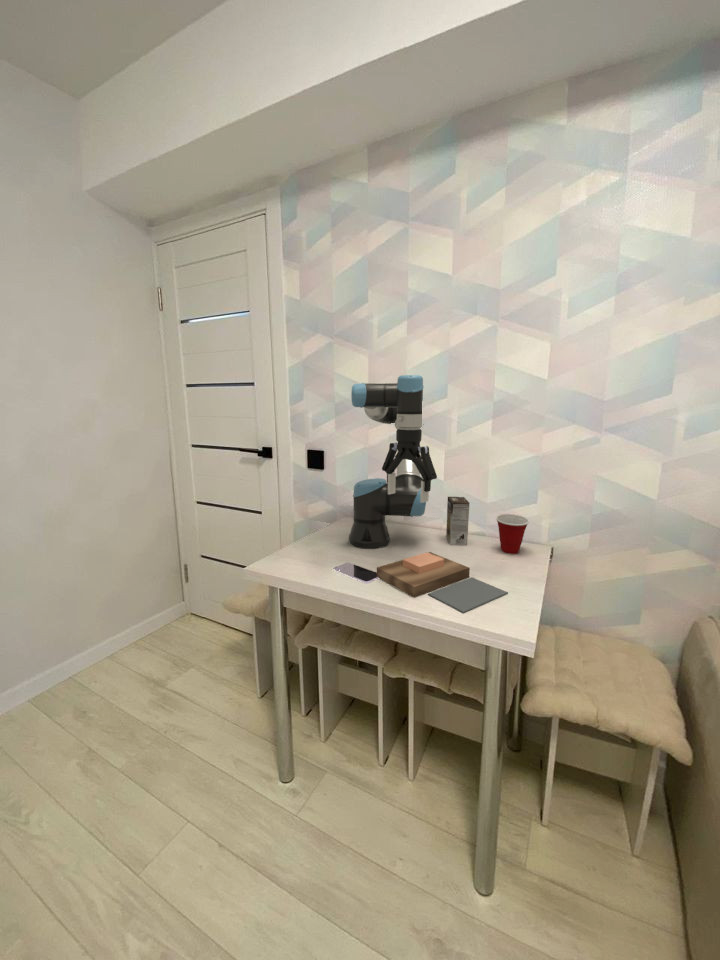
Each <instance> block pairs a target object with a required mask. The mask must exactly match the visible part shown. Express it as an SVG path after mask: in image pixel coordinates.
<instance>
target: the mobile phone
mask: <svg viewBox="0 0 720 960" xmlns="http://www.w3.org/2000/svg"><path fill="white" fill-rule="evenodd" d="M332 568H333V569H335V570H336V571H339V572H341V573H343V574H346V575H348V576H350V577H352V578H355V579H357V580H356V581H358V580H360V581H362V582H361V583H363V582H364V583H363V584H370V583H372V582H371V581H373V580H375V579H377V580H379V579H378V578H379V577H378V576H377V571H373V570H371V569H368V568H365V567H362V566H360V565H356V564H354V563H351V562H344V563H342V564H339V565H336V566H334V567H332ZM350 577H349V578H350ZM352 578H351V579H352ZM355 579H354V580H355ZM360 581H359V582H360ZM375 581H376V580H375ZM369 582H370V583H369ZM373 582H374V581H373Z"/></svg>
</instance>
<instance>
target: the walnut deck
mask: <svg viewBox="0 0 720 960" xmlns="http://www.w3.org/2000/svg"><path fill="white" fill-rule="evenodd" d="M427 553H430V554H432V555H435V556H437V557H440V558H442V559H444V566H441V567H438V568H435V569H432V570H429V571H426V572H423V573H420V574H419V573H417V572H415V571H413V570H411V569H408V568H406V567H404V566H403V559H401V560H398V561H395V562H391V563H386V564H384V565H381V566H377V567H376V572H377V576H378V577H379V578H380V579H379V580H381V579H382V581H383V580H384V581H383V582H385V583H387V584H388V583H389V585H390V584H391V585H390V586H393V587H394V588H396V589H398V590H399V589H400V590H399V591H402V592H403V593H404V594H407V595H408V596H411V597H412V598H417V597H420V596H422V595H426V594H428V593H431V592H434V591H436V590H439V589H442V588H444V587H447V586H450V585H452V584H455V583H458V582H461V581H463V580H466V579H469V578H470V569H471V567H468V566H466V565H463V564H461V563H459V562H456V561H454V560H451V559H450V558H446V557H444V556H442V555H438V554H436V553H433V552H432V551H428V552H427Z"/></svg>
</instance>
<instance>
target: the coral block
mask: <svg viewBox="0 0 720 960" xmlns="http://www.w3.org/2000/svg"><path fill="white" fill-rule="evenodd" d="M402 560H403V566H404V567H406V568H408V569H411V570H413V571H415V572H417V573H419V574H420V573H423V572H426V571H429V570H432V569H435V568H438V567H441V566H444V559H442V558H440V557H437V556H435V555H432V554H430V553H428V552H424V553H420V554H417V555H413V556H411V557H410V556H409V557H406V558H403V559H402Z"/></svg>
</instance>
